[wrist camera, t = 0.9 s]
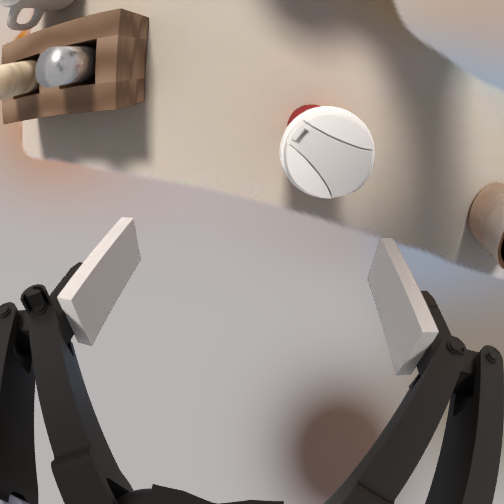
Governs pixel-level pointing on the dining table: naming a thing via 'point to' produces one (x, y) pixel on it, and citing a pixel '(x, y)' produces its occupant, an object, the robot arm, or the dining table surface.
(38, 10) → the mug
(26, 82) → the beech peg
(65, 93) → the walnut socket block
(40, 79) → the aluminium peg
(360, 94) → the dining table surface
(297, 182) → the coffee cup
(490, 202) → the planter
